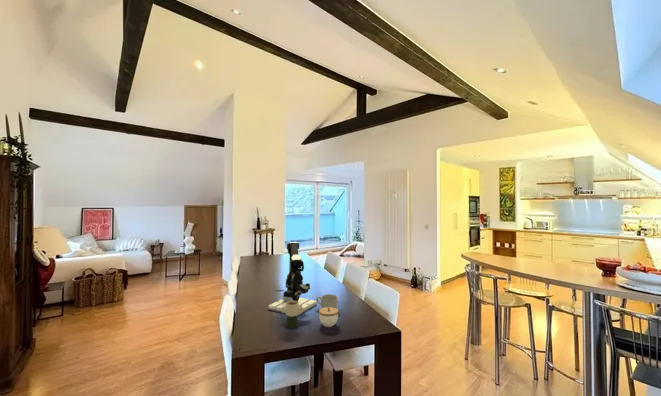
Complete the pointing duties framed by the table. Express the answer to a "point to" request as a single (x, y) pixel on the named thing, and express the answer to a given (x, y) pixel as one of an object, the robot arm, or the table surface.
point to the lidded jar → (328, 316)
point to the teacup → (328, 301)
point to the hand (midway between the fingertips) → (296, 304)
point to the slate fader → (287, 298)
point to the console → (281, 303)
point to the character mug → (292, 313)
